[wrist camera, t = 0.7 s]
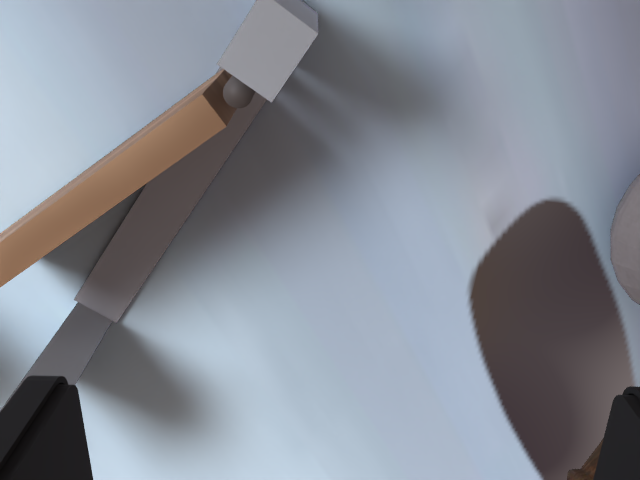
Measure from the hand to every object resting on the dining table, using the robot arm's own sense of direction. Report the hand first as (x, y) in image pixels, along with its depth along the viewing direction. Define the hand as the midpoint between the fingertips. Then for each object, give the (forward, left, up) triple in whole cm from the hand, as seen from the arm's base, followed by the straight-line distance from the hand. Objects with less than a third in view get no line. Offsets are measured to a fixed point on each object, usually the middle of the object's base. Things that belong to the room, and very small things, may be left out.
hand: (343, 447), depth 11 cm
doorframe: (-5, -10, -26) cm, 28 cm away
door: (-8, -8, -25) cm, 27 cm away
